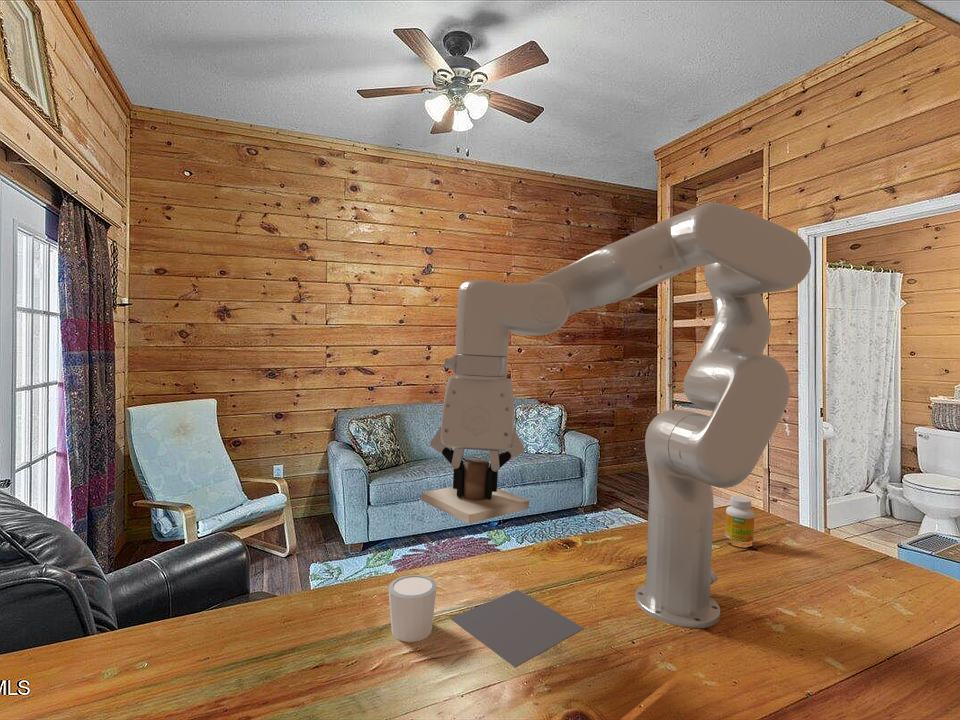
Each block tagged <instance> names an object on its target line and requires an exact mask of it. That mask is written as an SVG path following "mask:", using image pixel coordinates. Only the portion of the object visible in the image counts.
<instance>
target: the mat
mask: <svg viewBox="0 0 960 720" xmlns="http://www.w3.org/2000/svg"><path fill="white" fill-rule="evenodd" d="M449 619H450V620H451V621H452V622H453V623H455V624H456V625H458V626H459V627H461V628H462V629H463V630H464V631H466V632H467V633H469V635H471V636H472V637H474V638H475V639H476V640H478V641H479V642H481V643H482V644H483V645H484V646H485V647H487V648H489V649H490V650H491V651H493V652H494V653H495V654H496V655H498V656H499V657H500V658H502V659H503V660H505V661H506V662H508V664H510V665H511V666H512V667H514V668H517V667H518V666H520V665H522V664H523V663H526V662H527V661H529V660H531V659H533V658H534V657H536V656H539V654H542V653H543V652H545V651H547V650H549V649H551V648H552V647H554V646H556V645H558V644H560V643H561V642H562V641H565V640H567V639H568V638H570V637H572V636H573V635H575V634H577V633H579V632H581V631H582V630H584V629H585V627H584V626H581V625H580V624H578V623H576V621H575V622H574V621H573V620H571V619H570V618H567V617H566V616H564V615H563V614H561V613H559V612H557V611H555V610H554V609H552V608H550V607H549V606H547V605H545V604H544V603H542V602H540V601H538V600H536V599H534V598H533V597H531V596H529V595H528V594H527V593H526V594H525V593H524V592H522V591H521V590H519V589H515V590H514V591H511V592H509V593H506V594H504V595H502V596H499V597H497V598H495V599H492V600H489V601H488V602H485V603H482V604H480V605H478V606H476V607H474V608H471V609H469V610H466V611H464V612H461V613H459V614H457V615H454V616H452V617H450V618H449Z"/></svg>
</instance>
